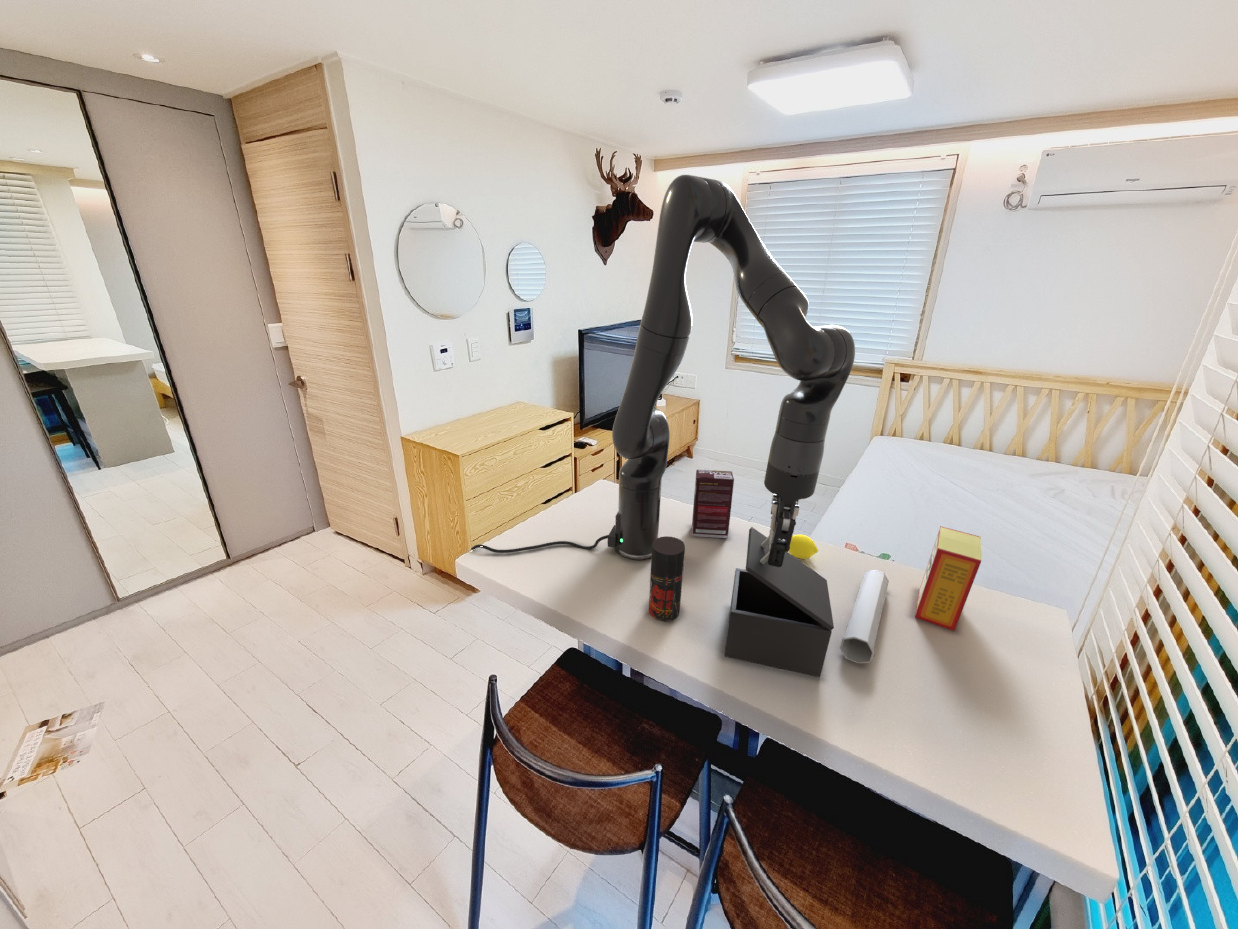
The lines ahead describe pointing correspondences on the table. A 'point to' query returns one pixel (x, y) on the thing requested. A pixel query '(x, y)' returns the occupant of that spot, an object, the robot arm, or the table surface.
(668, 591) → the deodorant
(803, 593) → the lid
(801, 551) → the lemon
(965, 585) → the baking soda box
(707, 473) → the supplement box
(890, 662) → the table surface
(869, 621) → the tube
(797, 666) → the dark grey box
